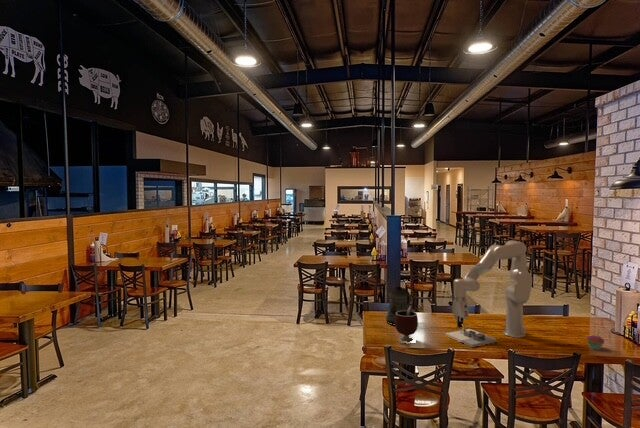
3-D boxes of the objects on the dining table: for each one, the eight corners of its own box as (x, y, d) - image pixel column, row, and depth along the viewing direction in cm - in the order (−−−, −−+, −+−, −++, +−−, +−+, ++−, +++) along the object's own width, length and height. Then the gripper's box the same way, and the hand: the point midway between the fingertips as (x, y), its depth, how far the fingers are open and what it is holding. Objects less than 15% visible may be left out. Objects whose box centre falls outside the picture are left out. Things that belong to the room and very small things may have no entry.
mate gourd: (413, 346, 239) (413, 312, 238) (391, 342, 246) (391, 310, 246) (421, 338, 252) (421, 306, 252) (400, 335, 259) (400, 304, 259)
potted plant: (382, 324, 282) (382, 289, 281) (391, 317, 299) (391, 283, 298) (406, 327, 274) (405, 291, 273) (413, 320, 291) (413, 285, 290)
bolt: (459, 331, 257) (458, 323, 256) (461, 331, 258) (461, 322, 257) (470, 336, 247) (470, 327, 247) (473, 336, 248) (473, 327, 248)
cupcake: (597, 345, 236) (597, 325, 235) (608, 350, 227) (608, 329, 227) (582, 345, 235) (583, 325, 235) (593, 351, 227) (593, 330, 226)
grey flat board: (445, 336, 255) (445, 328, 255) (469, 331, 263) (469, 324, 263) (471, 347, 235) (471, 339, 235) (497, 342, 243) (497, 334, 243)
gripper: (473, 300, 251) (473, 329, 252) (456, 295, 265) (456, 323, 266) (463, 301, 248) (464, 331, 249) (447, 296, 262) (447, 324, 263)
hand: (460, 326), depth 257 cm, fingers closed
